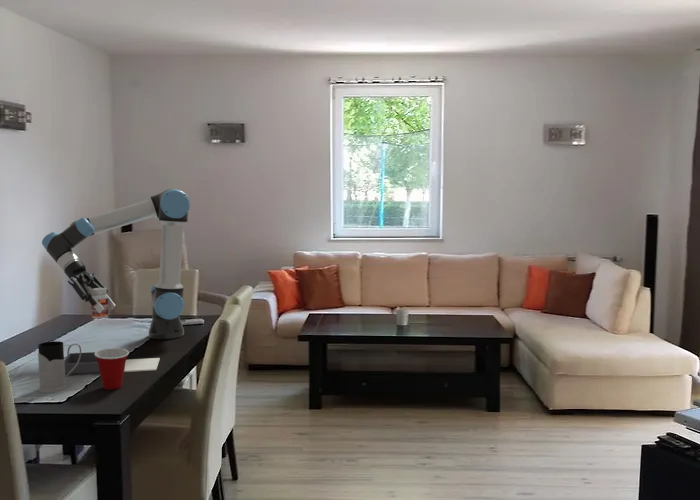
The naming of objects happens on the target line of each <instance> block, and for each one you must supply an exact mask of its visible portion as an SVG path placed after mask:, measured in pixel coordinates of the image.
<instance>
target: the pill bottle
mask: <svg viewBox="0 0 700 500" xmlns="http://www.w3.org/2000/svg"><path fill="white" fill-rule="evenodd" d="M106 288H107V287H106ZM106 288H94V289H92V288H91V290H92V291H91V292H92V293H91V295H92V297H93V296H95V298H96V299H97V300H98V301H99V303H100V304H101V305H102V306H103V307H104V309H103V311H102V312H101V313H98V311H97V310H96V309H95V308H94V307H93V306H92V305H91V304H90V306H91V318H93V319H96V320H97V319H106V318H108V317H109V307H108V296H109V295H108V294H107V295H108V296H107V295H106V294H105V293H106Z"/></svg>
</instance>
